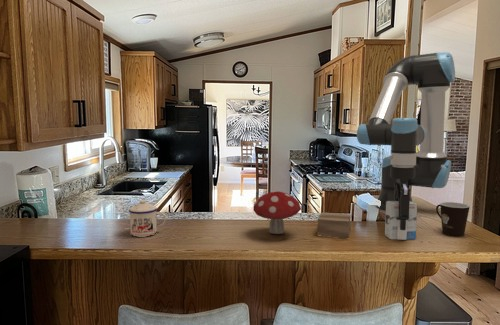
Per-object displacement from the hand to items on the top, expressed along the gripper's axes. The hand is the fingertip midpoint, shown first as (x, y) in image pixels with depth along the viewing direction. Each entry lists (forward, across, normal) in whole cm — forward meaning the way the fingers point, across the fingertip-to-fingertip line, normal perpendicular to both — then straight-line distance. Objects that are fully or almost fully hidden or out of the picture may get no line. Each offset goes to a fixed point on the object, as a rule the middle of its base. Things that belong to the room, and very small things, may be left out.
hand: (399, 236), depth 119 cm
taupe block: (+1, 0, -21) cm, 21 cm away
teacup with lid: (+1, +14, -83) cm, 84 cm away
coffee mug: (+1, -9, +18) cm, 20 cm away
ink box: (+1, 0, 0) cm, 1 cm away
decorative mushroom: (+1, +6, -40) cm, 40 cm away
